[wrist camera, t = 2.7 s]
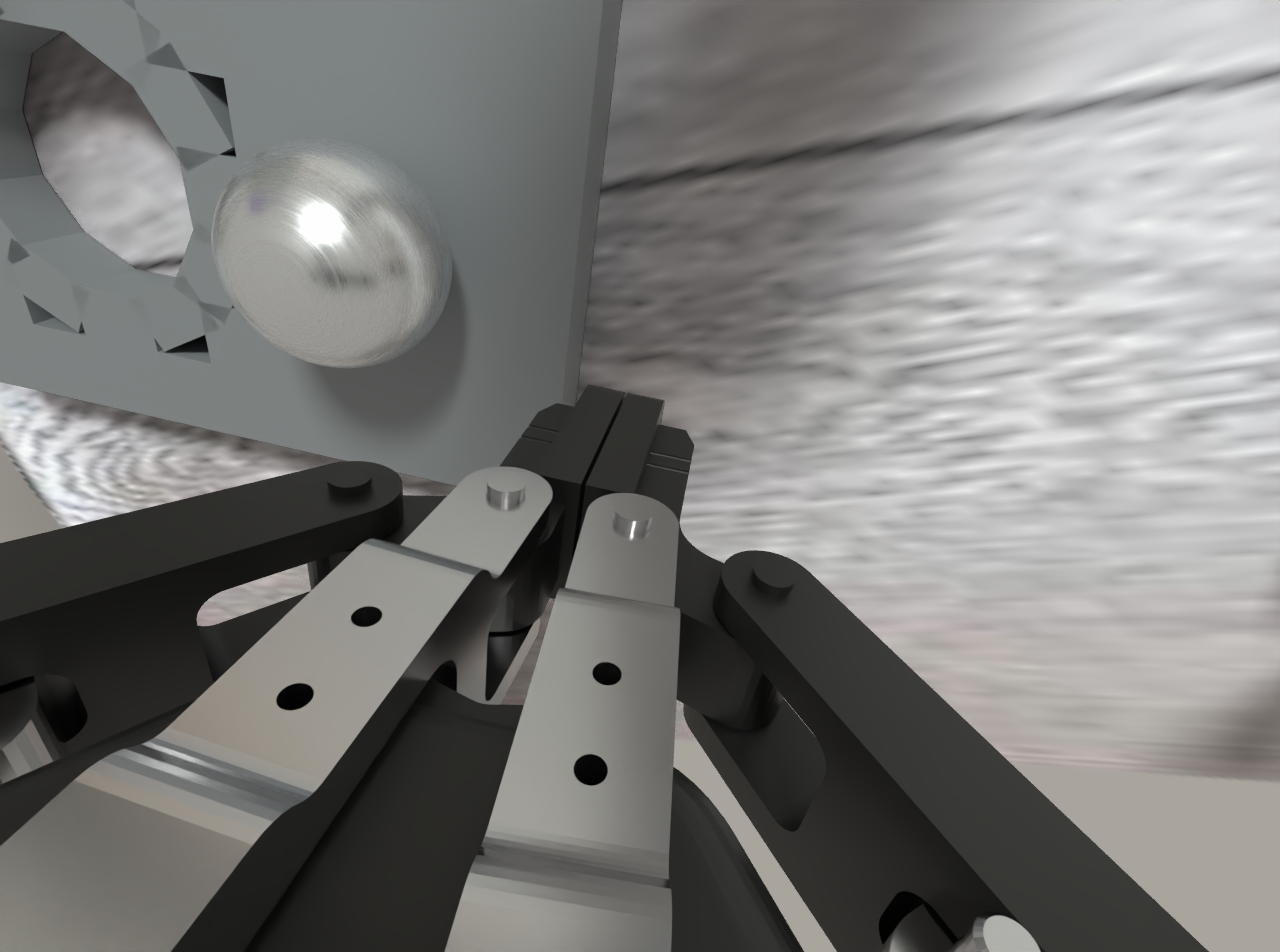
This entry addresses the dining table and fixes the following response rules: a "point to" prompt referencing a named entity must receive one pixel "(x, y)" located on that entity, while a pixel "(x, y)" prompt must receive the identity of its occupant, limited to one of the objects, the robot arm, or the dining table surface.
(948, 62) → the dining table surface
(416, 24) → the grey gear-hole plate
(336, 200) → the ball
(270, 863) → the robot arm
